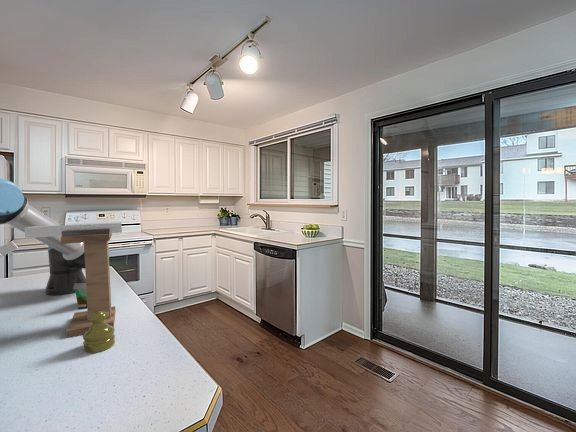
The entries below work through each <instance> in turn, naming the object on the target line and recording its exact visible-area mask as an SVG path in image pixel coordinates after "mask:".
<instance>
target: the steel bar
mask: <svg viewBox="0 0 576 432" xmlns="http://www.w3.org/2000/svg"><path fill="white" fill-rule="evenodd" d="M122 225H123V224H122V222H108V223H107V222H106V223H104V222H103V223H84V224H83V223H81V224H60V225H57V226H34V227H25V233H24V235H25V236H24V237H25V239H31V238H34V239H35V237H52V236H62V233H61V232H62V231H76V230H96V229H109V232H110V233H112V234H117V233H119V234H121V233H122V232H123V227H122Z"/></svg>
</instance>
